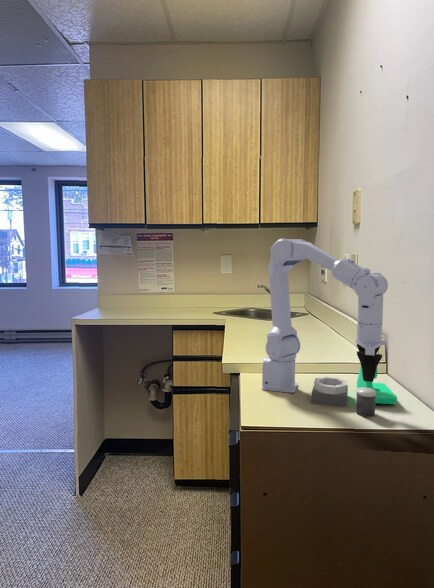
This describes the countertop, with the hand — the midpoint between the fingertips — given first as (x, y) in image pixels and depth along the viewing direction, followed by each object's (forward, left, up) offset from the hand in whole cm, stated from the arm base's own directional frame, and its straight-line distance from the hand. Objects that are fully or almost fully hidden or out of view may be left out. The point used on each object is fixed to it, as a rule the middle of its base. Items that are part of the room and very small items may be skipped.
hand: (367, 376), depth 98 cm
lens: (0, 0, -10) cm, 10 cm away
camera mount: (+3, +11, -10) cm, 15 cm away
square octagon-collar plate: (-9, +7, -9) cm, 15 cm away
